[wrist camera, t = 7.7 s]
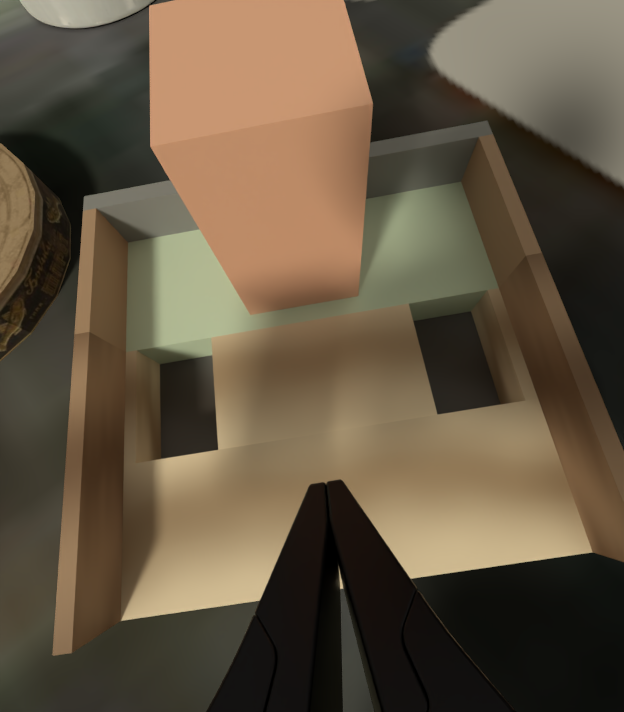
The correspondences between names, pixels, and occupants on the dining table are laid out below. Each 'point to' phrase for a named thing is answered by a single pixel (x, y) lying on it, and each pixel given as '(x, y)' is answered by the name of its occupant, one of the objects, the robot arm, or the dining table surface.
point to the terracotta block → (266, 140)
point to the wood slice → (28, 250)
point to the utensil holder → (82, 11)
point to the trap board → (333, 452)
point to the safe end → (378, 259)
